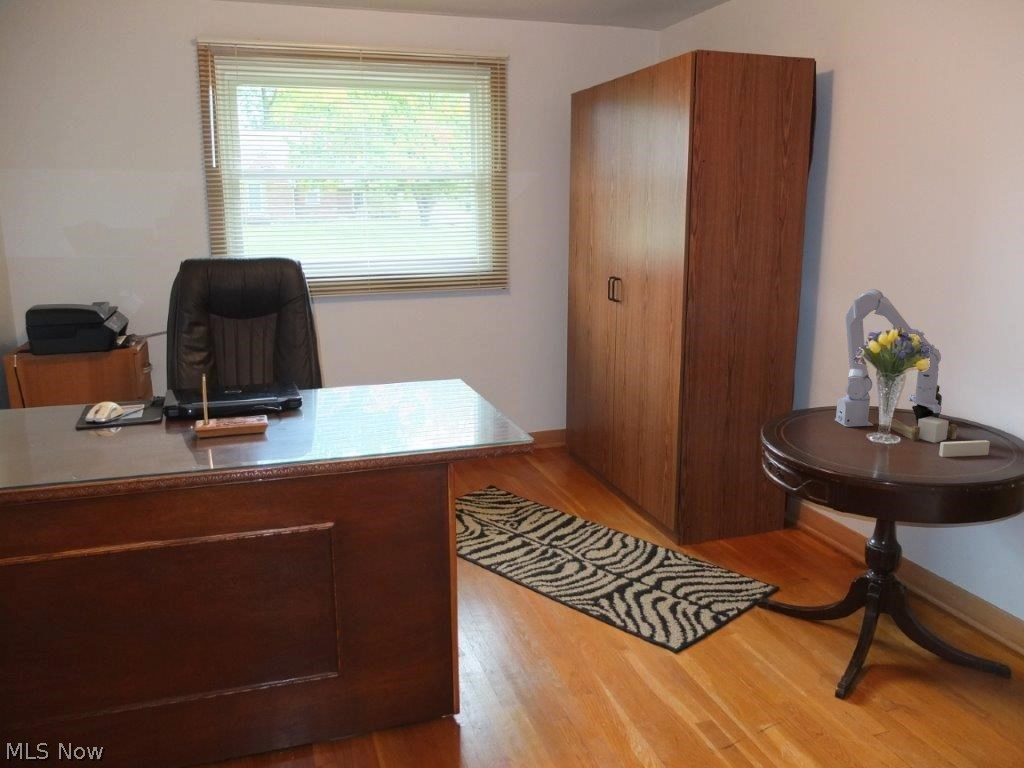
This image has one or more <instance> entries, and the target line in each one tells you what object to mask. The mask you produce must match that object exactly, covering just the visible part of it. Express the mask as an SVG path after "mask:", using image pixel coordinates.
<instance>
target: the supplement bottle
mask: <svg viewBox="0 0 1024 768" xmlns="http://www.w3.org/2000/svg"><path fill="white" fill-rule="evenodd" d="M939 392H940V385H938V384H937V389H936V398H935V400H938V403H937V404H938V405H939V406H941V407H942V404H943V403H942V400H943V396H942V394H940V393H939ZM931 417H935V418H939V419H941V413H934V414H933V415H932V416H931Z"/></svg>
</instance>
